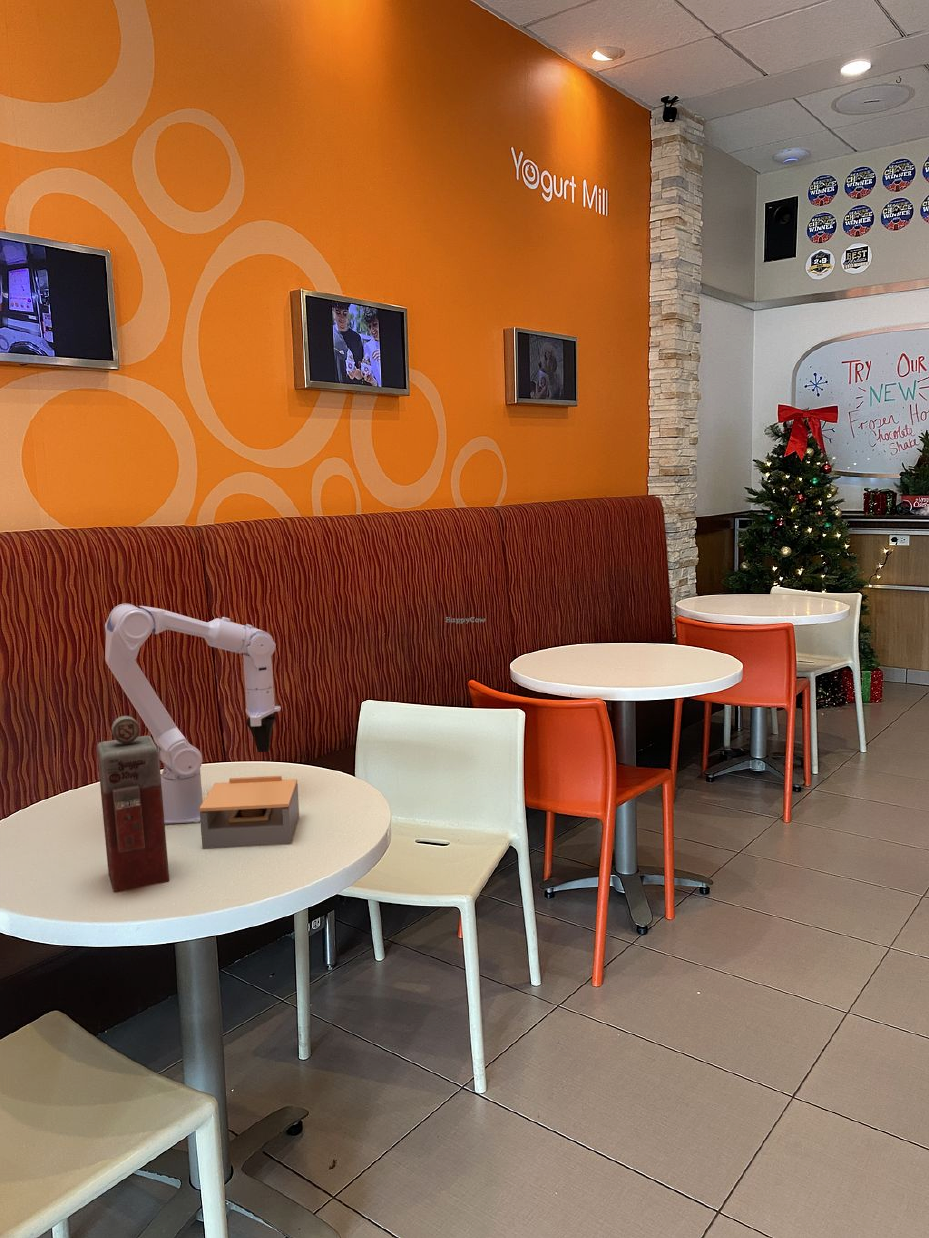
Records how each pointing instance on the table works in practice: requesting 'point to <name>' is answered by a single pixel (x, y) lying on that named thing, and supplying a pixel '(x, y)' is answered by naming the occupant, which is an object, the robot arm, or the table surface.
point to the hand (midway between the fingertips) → (263, 751)
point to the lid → (250, 793)
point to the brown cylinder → (251, 812)
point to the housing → (250, 826)
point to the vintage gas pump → (132, 808)
